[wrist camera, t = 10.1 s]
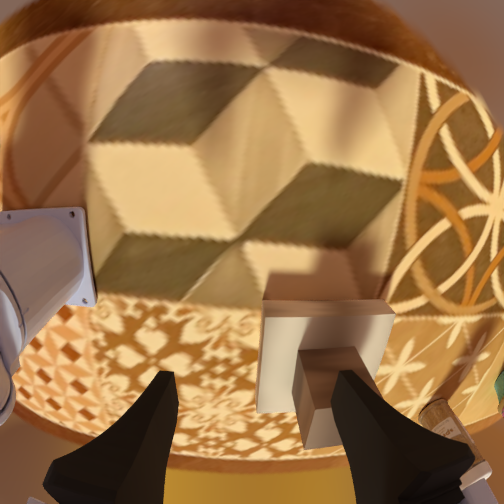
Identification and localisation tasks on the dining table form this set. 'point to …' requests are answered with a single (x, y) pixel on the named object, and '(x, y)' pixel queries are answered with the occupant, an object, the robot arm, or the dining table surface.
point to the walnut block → (322, 391)
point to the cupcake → (500, 392)
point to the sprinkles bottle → (454, 437)
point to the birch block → (314, 340)
